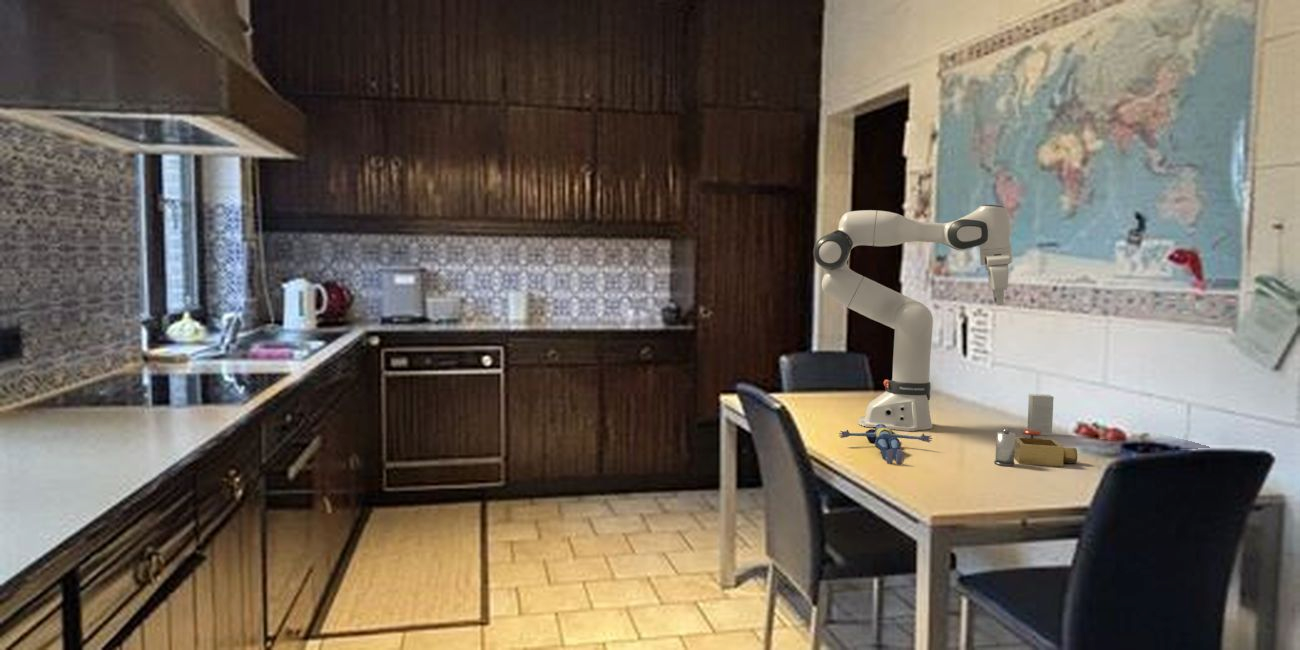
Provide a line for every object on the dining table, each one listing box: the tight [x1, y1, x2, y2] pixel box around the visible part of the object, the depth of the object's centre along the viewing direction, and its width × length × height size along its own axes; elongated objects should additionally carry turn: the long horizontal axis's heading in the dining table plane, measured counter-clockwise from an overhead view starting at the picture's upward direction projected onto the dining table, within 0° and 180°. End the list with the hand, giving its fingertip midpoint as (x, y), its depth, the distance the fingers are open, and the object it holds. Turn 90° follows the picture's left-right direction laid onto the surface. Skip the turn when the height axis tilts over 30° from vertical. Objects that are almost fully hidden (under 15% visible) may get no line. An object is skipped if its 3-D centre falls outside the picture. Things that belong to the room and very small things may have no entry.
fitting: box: [1014, 428, 1078, 468], centre depth 226 cm, size 14×15×6 cm
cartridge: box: [994, 428, 1016, 468], centre depth 219 cm, size 5×5×9 cm
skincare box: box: [1027, 393, 1055, 436], centre depth 260 cm, size 6×4×12 cm
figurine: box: [838, 424, 933, 465], centre depth 232 cm, size 22×26×5 cm
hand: (998, 304), depth 259 cm, fingers open, 8 cm apart
